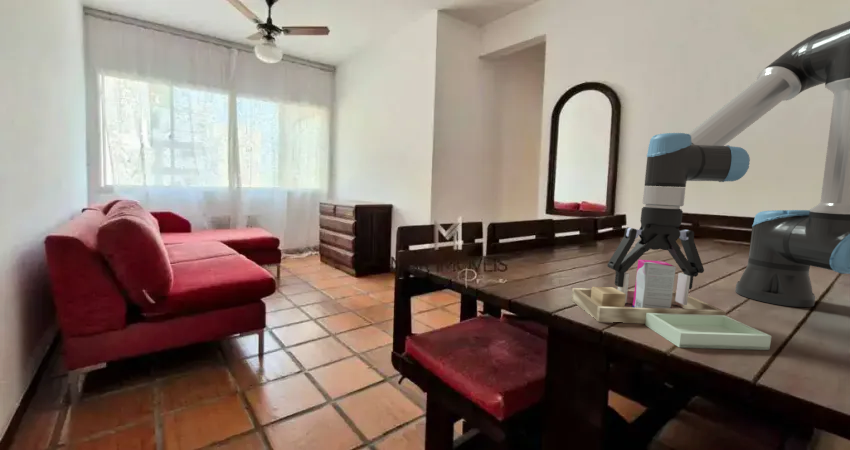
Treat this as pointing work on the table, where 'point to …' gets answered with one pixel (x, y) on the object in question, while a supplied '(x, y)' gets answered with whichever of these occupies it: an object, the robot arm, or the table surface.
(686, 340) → the tray
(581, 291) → the frame
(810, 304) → the robot arm
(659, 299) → the supplement box
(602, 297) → the oak block
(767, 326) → the table surface
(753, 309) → the table surface
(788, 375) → the table surface
